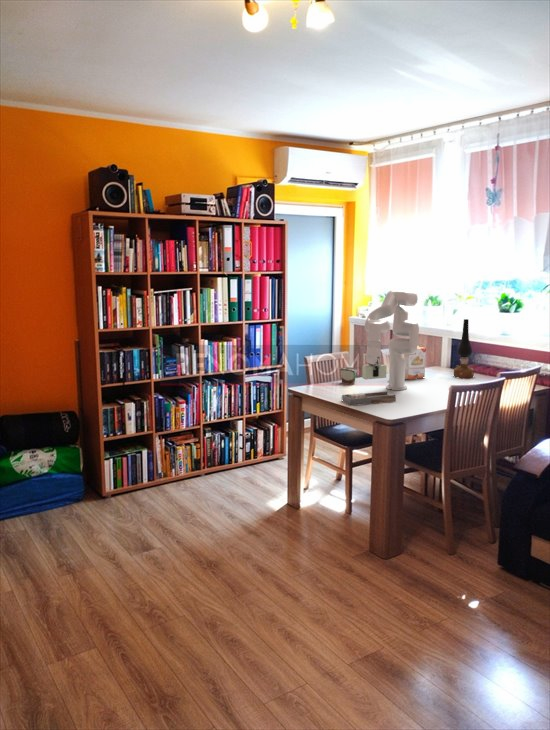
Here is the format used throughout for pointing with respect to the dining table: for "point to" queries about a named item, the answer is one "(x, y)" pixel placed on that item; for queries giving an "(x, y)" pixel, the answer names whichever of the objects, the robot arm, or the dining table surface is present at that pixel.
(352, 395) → the chip
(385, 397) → the groove board
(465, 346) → the oil lamp
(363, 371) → the bar
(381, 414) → the dining table surface
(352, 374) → the food container
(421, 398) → the dining table surface
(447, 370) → the dining table surface
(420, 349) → the cracker box
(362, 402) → the tray
